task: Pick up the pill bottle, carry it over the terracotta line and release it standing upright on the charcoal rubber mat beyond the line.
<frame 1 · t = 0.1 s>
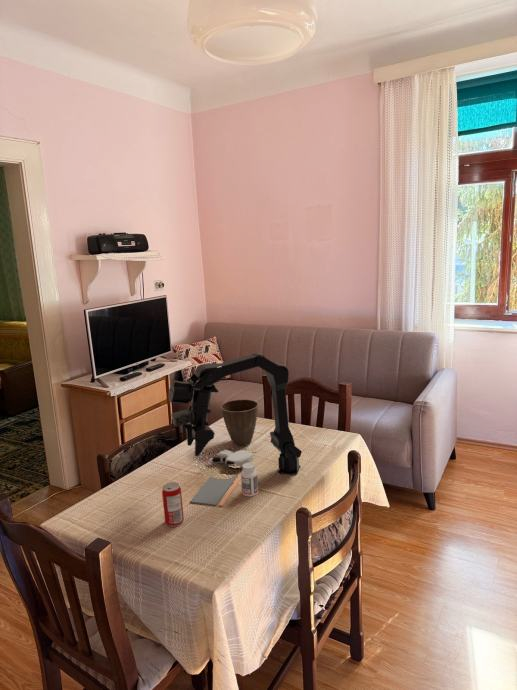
hand: (192, 450, 159), 15 cm above the table, tool pointing down, fingers open, 9 cm apart
pill bottle: (250, 493, 161), on the table
plant pot: (241, 442, 201), on the table
robot toy: (232, 464, 183), on the table
throw line: (231, 490, 163), on the table
soda can: (174, 522, 147), on the table
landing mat: (215, 488, 165), on the table
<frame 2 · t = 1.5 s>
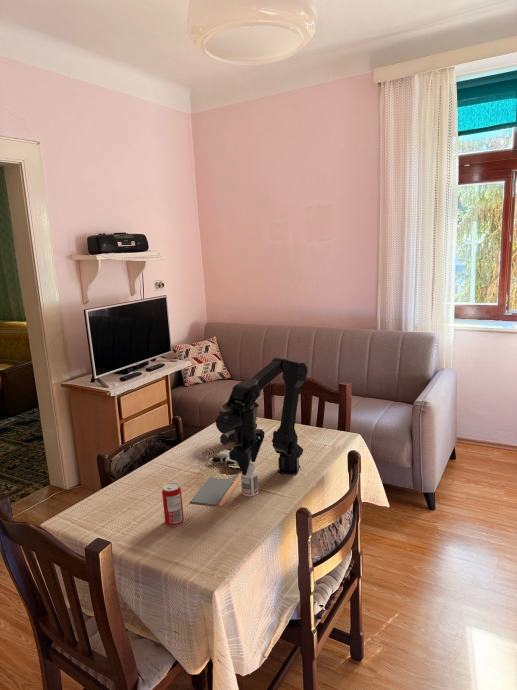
hand: (249, 468, 159), 9 cm above the table, tool pointing down, fingers open, 9 cm apart
nothing on the table moved.
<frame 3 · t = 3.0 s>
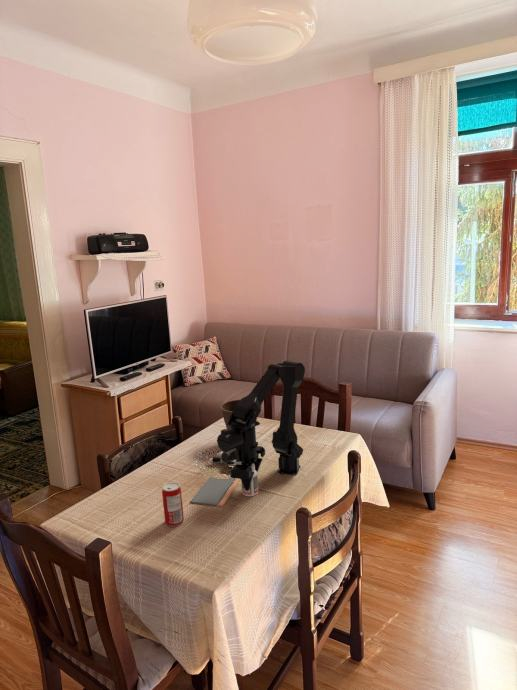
hand: (249, 485, 160), 3 cm above the table, tool pointing down, fingers closed on pill bottle, 5 cm apart
pill bottle: (250, 493, 161), on the table, touching gripper
everything else where it was.
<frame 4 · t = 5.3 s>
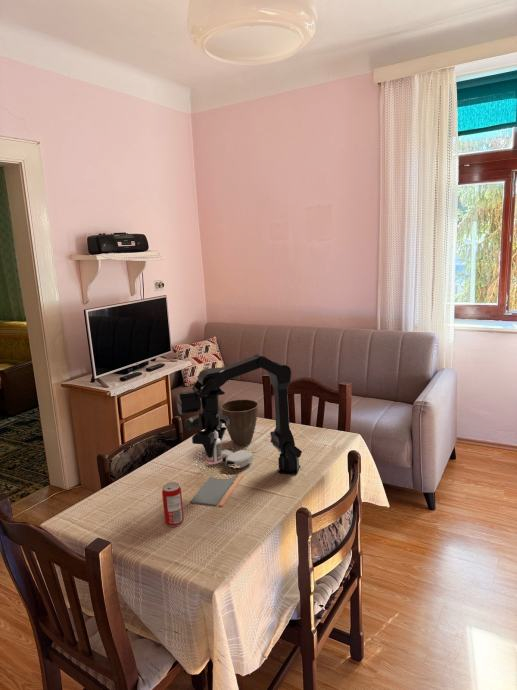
hand: (213, 453, 161), 13 cm above the table, tool pointing down, fingers closed on pill bottle, 5 cm apart
pill bottle: (213, 461, 162), point 10 cm above the table, touching gripper
everything else where it was.
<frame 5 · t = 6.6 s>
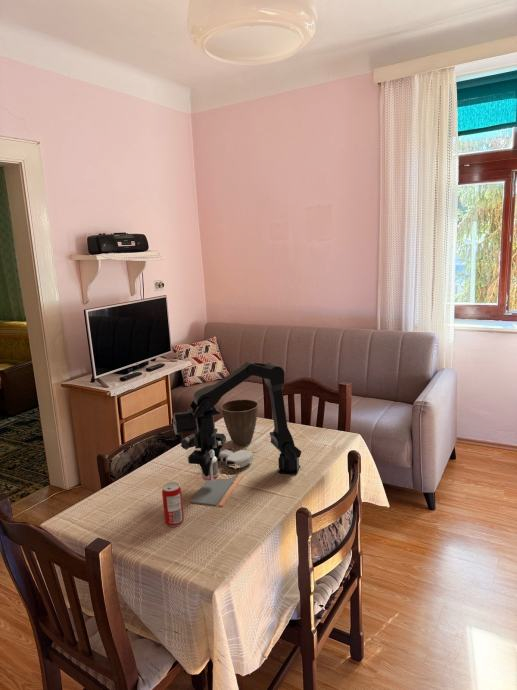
hand: (209, 471, 164), 6 cm above the table, tool pointing down, fingers closed on pill bottle, 5 cm apart
pill bottle: (210, 479, 164), point 3 cm above the table, touching gripper
everything else where it was.
when the fingers open (4 cm above the table, at t = 7.7 s): pill bottle drops 1 cm, resting on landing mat.
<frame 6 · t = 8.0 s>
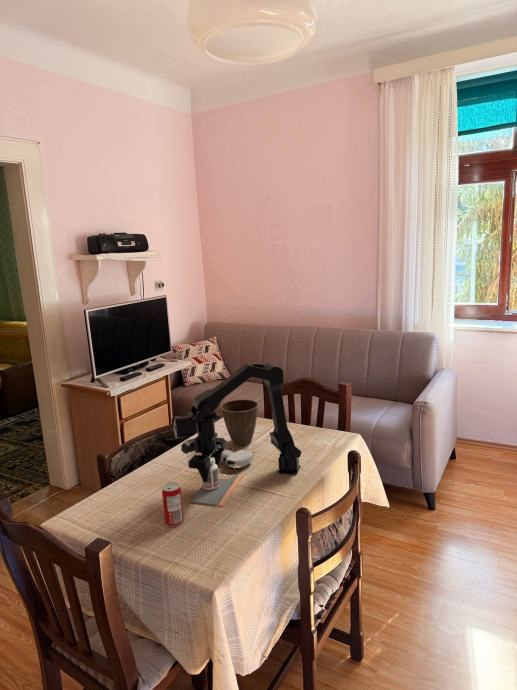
hand: (209, 476, 164), 4 cm above the table, tool pointing down, fingers open, 8 cm apart
pill bottle: (211, 487, 165), resting on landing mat
everything else where it was.
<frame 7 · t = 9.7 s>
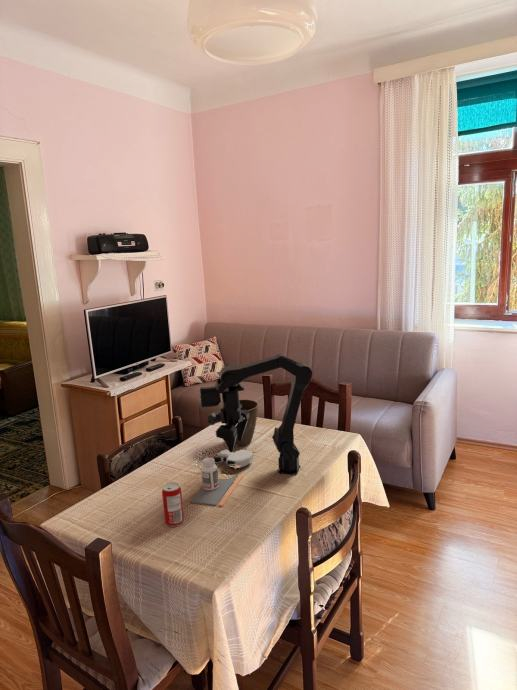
hand: (235, 446, 170), 12 cm above the table, tool pointing down, fingers open, 9 cm apart
nothing on the table moved.
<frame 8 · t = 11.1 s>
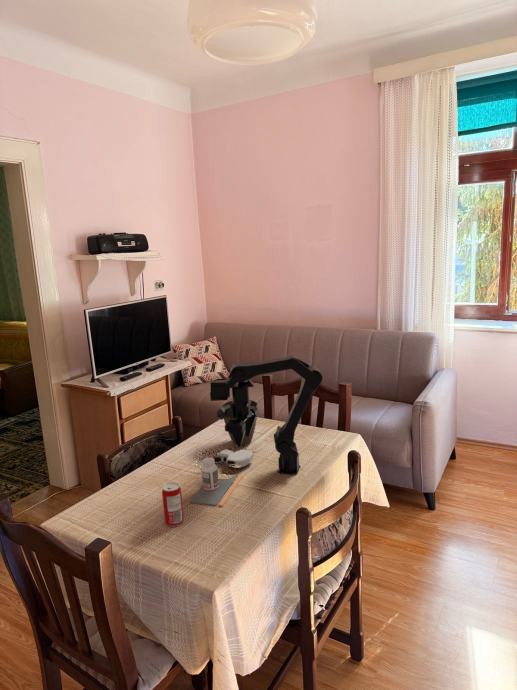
hand: (243, 441, 172), 12 cm above the table, tool pointing down, fingers open, 9 cm apart
nothing on the table moved.
at the end: pill bottle inside the target area (0.1 cm from its centre), resting on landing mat; pill bottle tilted 1°; the gripper is holding nothing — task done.
